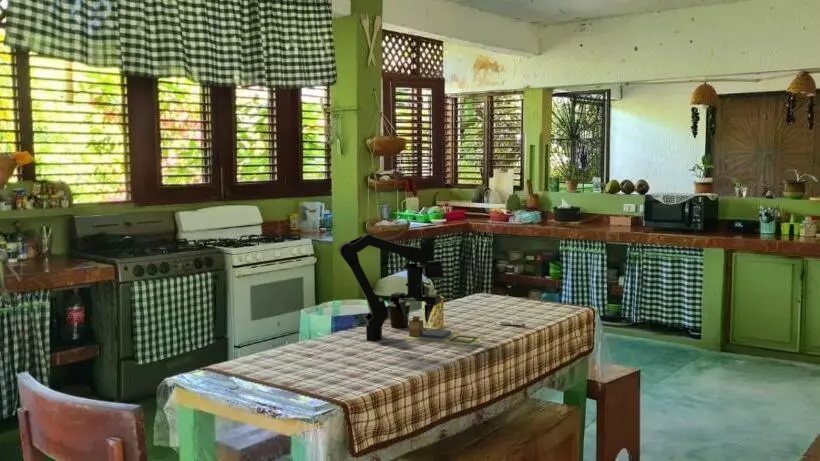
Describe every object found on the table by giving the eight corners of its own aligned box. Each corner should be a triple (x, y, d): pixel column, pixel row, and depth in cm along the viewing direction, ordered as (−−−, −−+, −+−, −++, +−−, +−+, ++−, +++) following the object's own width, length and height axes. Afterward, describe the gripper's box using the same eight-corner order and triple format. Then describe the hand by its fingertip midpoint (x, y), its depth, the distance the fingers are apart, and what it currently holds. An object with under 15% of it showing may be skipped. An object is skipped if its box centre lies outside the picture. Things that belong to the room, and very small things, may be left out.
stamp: (419, 337, 282) (418, 318, 282) (409, 336, 284) (408, 317, 283) (423, 334, 286) (423, 316, 285) (413, 334, 288) (413, 315, 287)
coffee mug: (401, 332, 295) (400, 307, 294) (384, 330, 300) (383, 305, 299) (419, 326, 304) (418, 302, 303) (402, 324, 309) (401, 300, 308)
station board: (472, 348, 268) (472, 344, 268) (401, 341, 280) (400, 338, 280) (485, 339, 281) (485, 335, 280) (417, 333, 293) (417, 330, 293)
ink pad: (443, 341, 275) (442, 336, 275) (418, 339, 279) (417, 334, 279) (453, 335, 284) (453, 330, 284) (429, 333, 288) (429, 328, 288)
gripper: (446, 277, 286) (447, 318, 288) (402, 275, 294) (402, 315, 296) (434, 282, 276) (435, 324, 278) (388, 279, 284) (389, 321, 286)
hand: (415, 321), depth 285 cm, fingers open, 9 cm apart
